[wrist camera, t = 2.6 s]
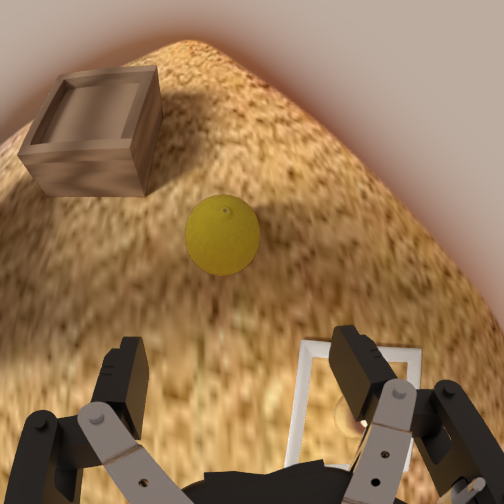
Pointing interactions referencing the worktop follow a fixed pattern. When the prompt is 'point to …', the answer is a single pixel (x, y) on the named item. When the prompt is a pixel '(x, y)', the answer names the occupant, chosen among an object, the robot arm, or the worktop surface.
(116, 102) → the wooden box
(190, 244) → the lemon
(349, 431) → the white square frame
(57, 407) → the worktop surface
